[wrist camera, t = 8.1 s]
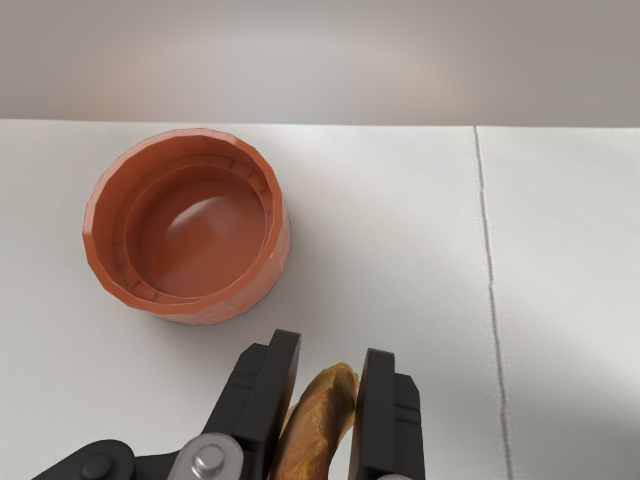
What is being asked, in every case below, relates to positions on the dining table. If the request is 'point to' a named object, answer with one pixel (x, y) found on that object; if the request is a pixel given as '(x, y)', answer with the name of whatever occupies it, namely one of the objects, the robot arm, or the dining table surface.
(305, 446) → the stone tool
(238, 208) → the mixing bowl
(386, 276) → the dining table surface
